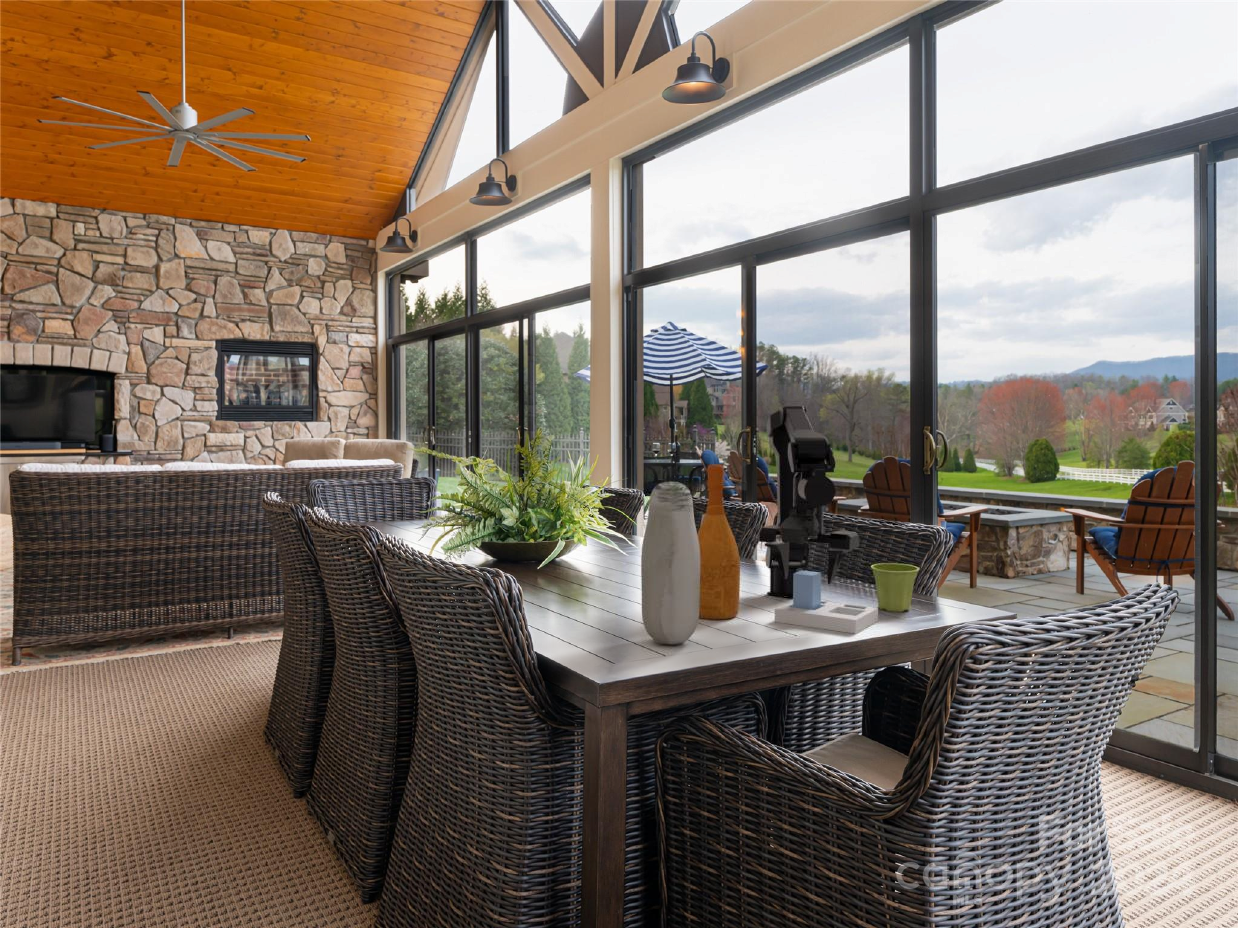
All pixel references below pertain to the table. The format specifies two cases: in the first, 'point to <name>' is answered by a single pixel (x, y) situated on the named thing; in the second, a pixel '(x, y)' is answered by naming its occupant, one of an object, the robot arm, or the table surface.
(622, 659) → the table surface
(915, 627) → the table surface
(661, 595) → the grey vase
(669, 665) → the table surface
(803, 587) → the plug
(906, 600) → the plant pot
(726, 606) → the wine bottle
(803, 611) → the white socket block
